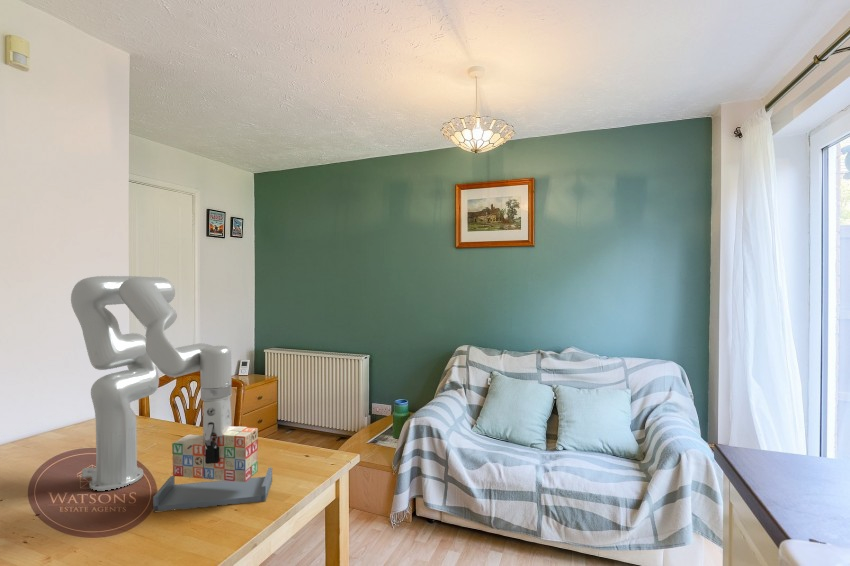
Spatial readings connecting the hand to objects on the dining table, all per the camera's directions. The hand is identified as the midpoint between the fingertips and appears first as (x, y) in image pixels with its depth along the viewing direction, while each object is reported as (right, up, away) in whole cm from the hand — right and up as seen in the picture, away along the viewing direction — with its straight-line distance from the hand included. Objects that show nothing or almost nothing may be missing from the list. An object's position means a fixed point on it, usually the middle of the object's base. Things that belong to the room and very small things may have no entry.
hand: (217, 455), depth 113 cm
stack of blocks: (0, -5, 0) cm, 5 cm away
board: (0, -11, 0) cm, 11 cm away
